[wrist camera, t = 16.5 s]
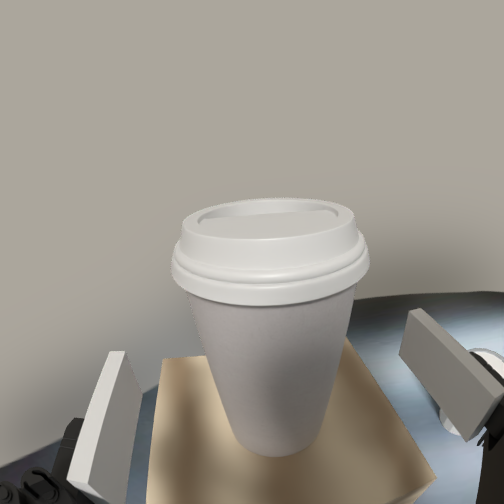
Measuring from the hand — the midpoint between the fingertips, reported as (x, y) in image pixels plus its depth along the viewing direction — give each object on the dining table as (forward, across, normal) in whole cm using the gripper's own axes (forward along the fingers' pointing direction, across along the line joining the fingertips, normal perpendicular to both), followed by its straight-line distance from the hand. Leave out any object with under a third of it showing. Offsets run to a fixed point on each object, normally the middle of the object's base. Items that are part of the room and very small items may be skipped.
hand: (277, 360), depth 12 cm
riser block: (+4, 0, -16) cm, 17 cm away
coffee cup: (+4, 0, -10) cm, 10 cm away
